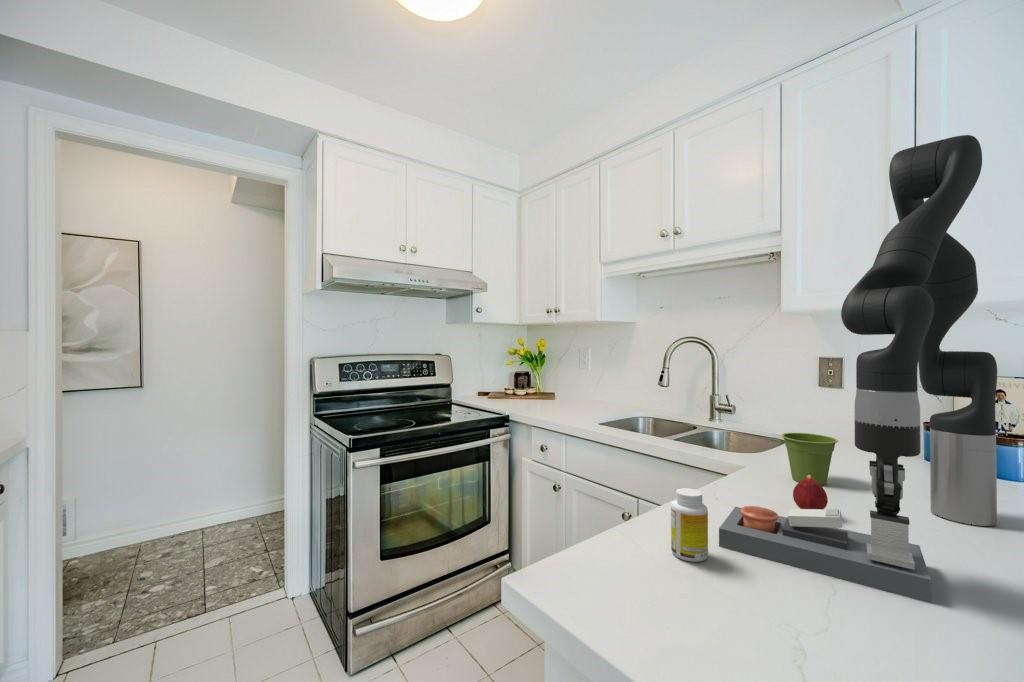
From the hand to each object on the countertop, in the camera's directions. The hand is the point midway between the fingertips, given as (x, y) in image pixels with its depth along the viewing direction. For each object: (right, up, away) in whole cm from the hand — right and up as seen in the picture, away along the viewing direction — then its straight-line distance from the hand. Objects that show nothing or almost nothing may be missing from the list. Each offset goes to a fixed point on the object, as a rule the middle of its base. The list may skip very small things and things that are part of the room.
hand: (886, 535), depth 65 cm
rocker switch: (-7, 0, +6) cm, 9 cm away
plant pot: (+19, -7, +45) cm, 49 cm away
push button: (-13, -5, +10) cm, 18 cm away
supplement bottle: (-28, -6, +5) cm, 29 cm away
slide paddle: (-2, -2, -3) cm, 4 cm away
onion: (+4, -6, +22) cm, 24 cm away
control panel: (-7, -6, +5) cm, 11 cm away
